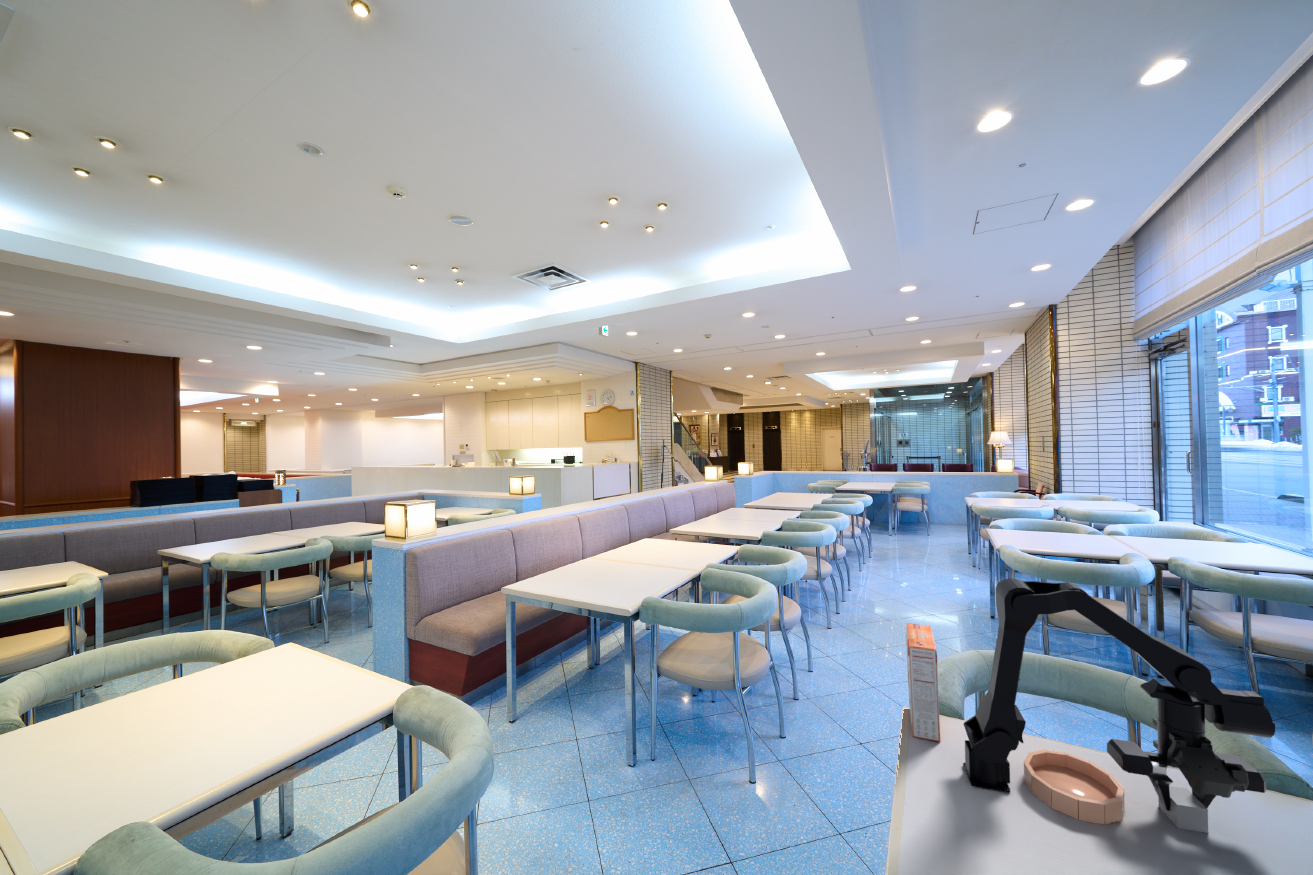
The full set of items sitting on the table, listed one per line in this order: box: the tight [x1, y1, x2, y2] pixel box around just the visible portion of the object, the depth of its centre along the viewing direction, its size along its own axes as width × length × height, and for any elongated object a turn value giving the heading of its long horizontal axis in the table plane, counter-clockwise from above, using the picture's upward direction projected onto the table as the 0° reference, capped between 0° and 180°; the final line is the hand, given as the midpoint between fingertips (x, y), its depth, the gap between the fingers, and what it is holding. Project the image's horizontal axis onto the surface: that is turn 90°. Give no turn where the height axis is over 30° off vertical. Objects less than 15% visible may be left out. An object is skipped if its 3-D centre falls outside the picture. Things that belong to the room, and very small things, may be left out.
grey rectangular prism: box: [1157, 785, 1209, 834], centre depth 85 cm, size 4×5×4 cm
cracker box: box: [905, 623, 941, 743], centre depth 115 cm, size 14×6×21 cm, turn 155°
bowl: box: [1023, 749, 1126, 825], centre depth 92 cm, size 14×14×4 cm
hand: (1182, 811), depth 85 cm, fingers closed on grey rectangular prism, 4 cm apart
